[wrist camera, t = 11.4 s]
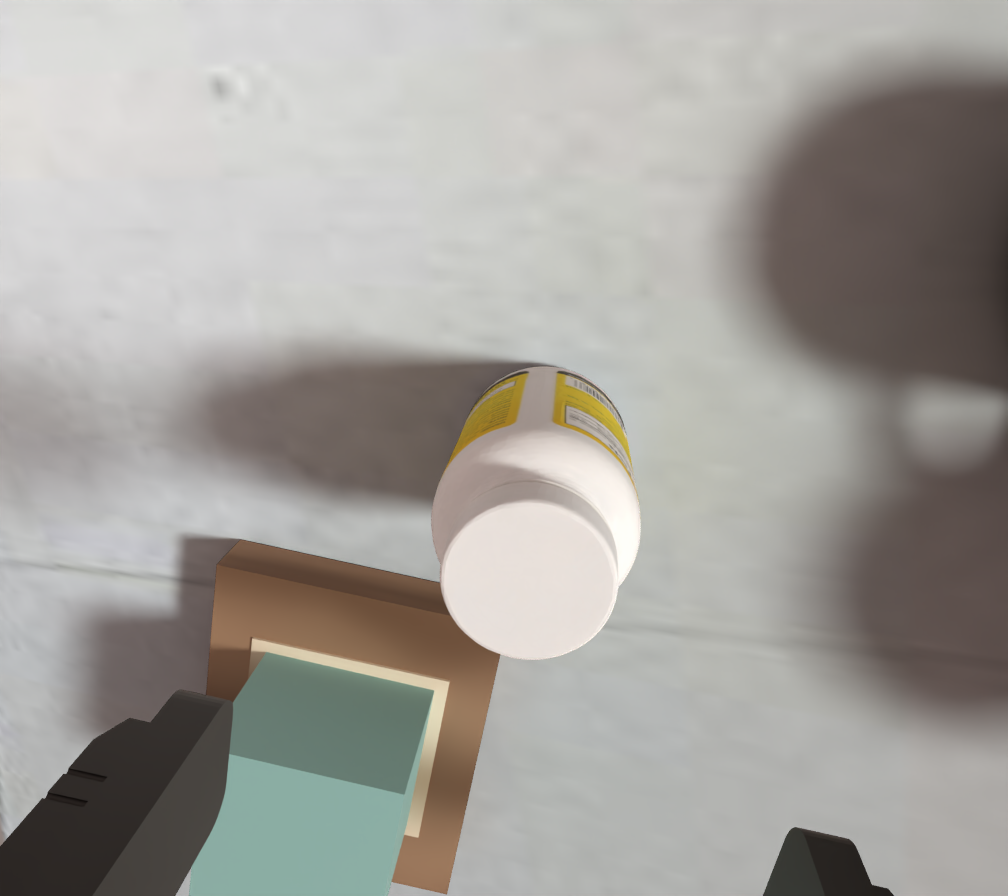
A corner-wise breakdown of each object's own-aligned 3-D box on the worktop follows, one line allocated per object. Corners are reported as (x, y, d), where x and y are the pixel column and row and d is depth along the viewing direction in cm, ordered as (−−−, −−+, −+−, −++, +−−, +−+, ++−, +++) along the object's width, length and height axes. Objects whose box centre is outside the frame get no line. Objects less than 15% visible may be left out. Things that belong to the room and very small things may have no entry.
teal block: (266, 651, 28) (202, 747, 23) (434, 690, 28) (404, 794, 23) (250, 787, 30) (188, 900, 25) (407, 823, 30) (374, 944, 25)
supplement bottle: (464, 513, 28) (406, 678, 19) (465, 359, 26) (402, 459, 17) (621, 521, 28) (641, 696, 18) (633, 366, 26) (661, 472, 17)
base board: (240, 539, 29) (215, 566, 27) (511, 598, 29) (505, 629, 27) (216, 799, 33) (193, 838, 31) (454, 852, 33) (446, 896, 31)
